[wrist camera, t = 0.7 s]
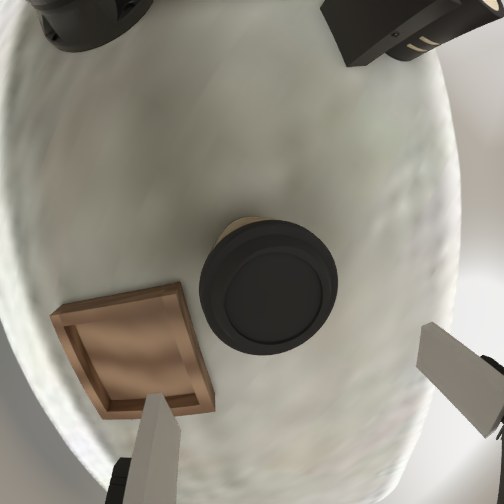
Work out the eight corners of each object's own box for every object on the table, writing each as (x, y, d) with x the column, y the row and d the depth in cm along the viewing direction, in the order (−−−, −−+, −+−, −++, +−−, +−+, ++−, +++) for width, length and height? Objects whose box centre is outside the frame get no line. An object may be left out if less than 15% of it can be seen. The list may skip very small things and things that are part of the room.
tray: (62, 304, 29) (49, 315, 26) (180, 282, 30) (176, 293, 27) (109, 403, 33) (102, 419, 30) (214, 393, 34) (215, 411, 31)
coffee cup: (307, 236, 31) (377, 278, 16) (261, 304, 32) (293, 388, 18) (236, 189, 29) (255, 191, 14) (190, 262, 30) (168, 329, 16)
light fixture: (426, 67, 28) (518, 31, 10) (347, 69, 27) (442, 0, 10) (400, 11, 25) (474, -40, 8) (319, 6, 25) (381, -79, 7)
